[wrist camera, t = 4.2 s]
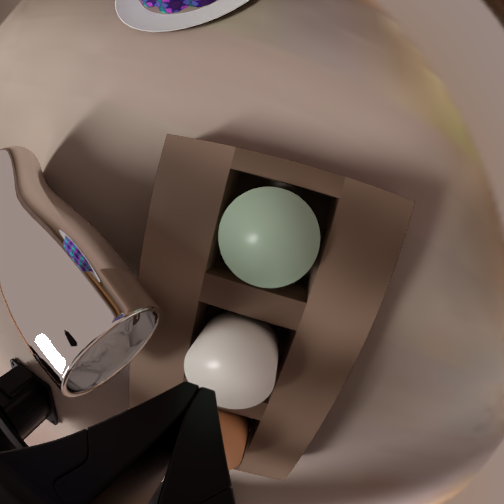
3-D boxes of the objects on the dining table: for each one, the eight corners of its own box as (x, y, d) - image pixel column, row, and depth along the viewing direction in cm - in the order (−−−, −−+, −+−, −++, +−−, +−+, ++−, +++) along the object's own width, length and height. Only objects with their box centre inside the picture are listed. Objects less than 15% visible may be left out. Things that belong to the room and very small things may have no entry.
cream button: (266, 387, 16) (260, 418, 13) (195, 365, 16) (178, 392, 14) (289, 324, 15) (287, 351, 12) (209, 300, 15) (191, 321, 13)
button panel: (286, 457, 19) (284, 480, 16) (142, 410, 20) (128, 429, 17) (397, 200, 14) (414, 201, 12) (185, 141, 15) (166, 133, 13)
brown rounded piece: (240, 449, 17) (233, 477, 15) (182, 430, 18) (168, 456, 15) (257, 411, 16) (250, 441, 14) (190, 389, 17) (174, 417, 14)
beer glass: (-49, 209, 11) (37, 413, 8) (2, 122, 12) (116, 301, 9) (13, 231, 18) (114, 383, 15) (60, 163, 18) (183, 303, 16)
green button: (302, 281, 16) (302, 299, 13) (223, 258, 16) (208, 271, 13) (326, 201, 15) (332, 203, 12) (243, 178, 15) (231, 175, 12)
